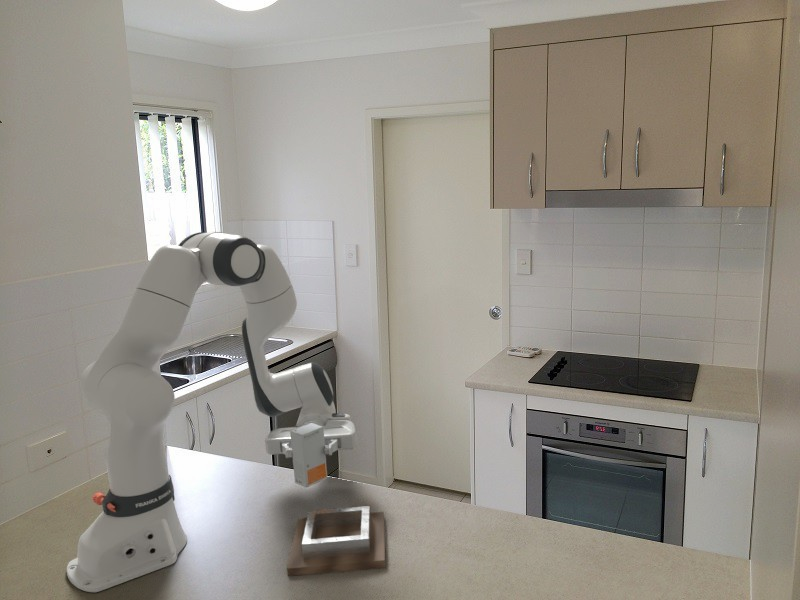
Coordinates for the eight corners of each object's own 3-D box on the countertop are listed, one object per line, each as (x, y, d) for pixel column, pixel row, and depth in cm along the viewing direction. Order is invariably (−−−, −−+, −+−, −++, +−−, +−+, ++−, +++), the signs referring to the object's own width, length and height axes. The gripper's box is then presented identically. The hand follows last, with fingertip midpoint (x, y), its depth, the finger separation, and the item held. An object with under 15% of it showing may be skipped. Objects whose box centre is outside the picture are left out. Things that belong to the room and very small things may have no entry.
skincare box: (306, 488, 143) (301, 435, 141) (294, 483, 146) (288, 430, 144) (328, 478, 147) (323, 426, 145) (316, 473, 150) (311, 422, 148)
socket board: (287, 575, 124) (285, 553, 124) (298, 525, 142) (296, 505, 141) (385, 567, 125) (383, 545, 124) (384, 518, 142) (382, 498, 141)
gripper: (268, 419, 157) (258, 442, 143) (356, 413, 157) (354, 436, 144) (271, 445, 158) (261, 470, 145) (358, 439, 159) (356, 464, 145)
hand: (308, 453), depth 144 cm, fingers closed on skincare box, 7 cm apart
